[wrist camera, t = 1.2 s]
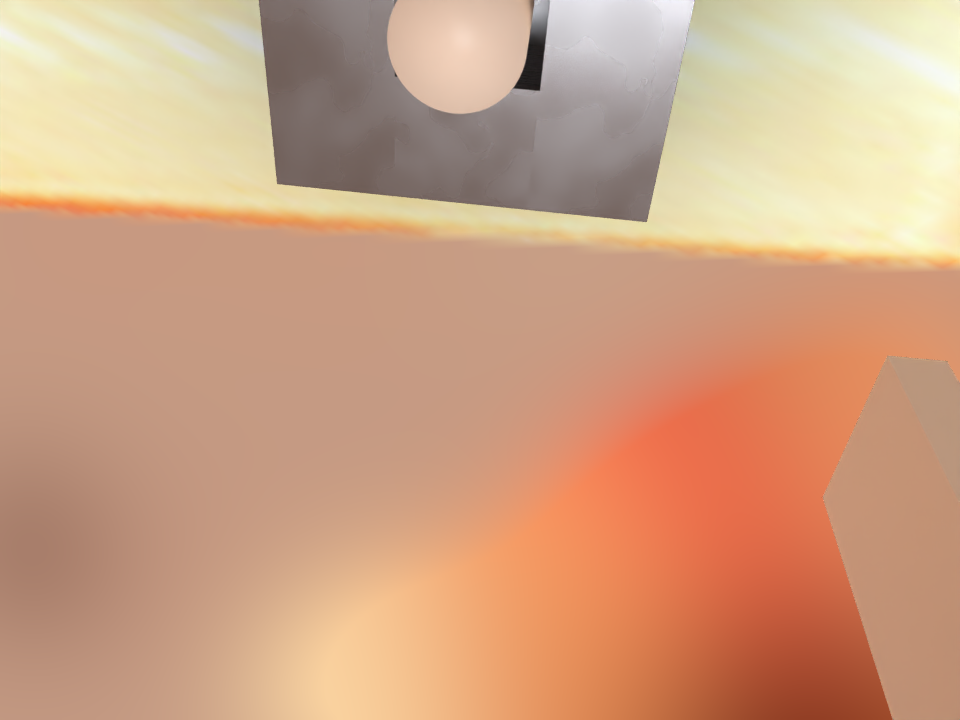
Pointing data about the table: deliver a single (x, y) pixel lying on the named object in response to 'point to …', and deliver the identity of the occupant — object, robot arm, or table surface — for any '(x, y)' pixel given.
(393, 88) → the panel
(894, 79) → the table surface
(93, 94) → the table surface
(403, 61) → the cream rounded knob
